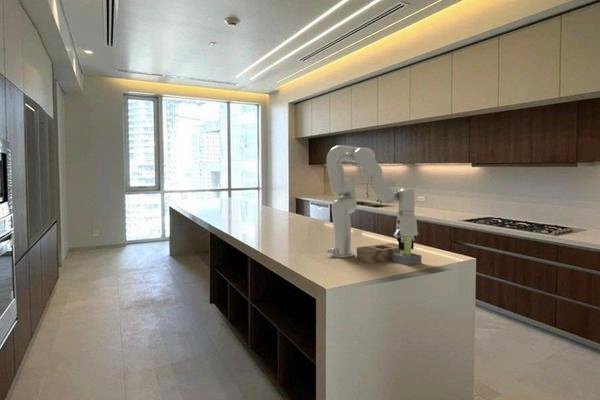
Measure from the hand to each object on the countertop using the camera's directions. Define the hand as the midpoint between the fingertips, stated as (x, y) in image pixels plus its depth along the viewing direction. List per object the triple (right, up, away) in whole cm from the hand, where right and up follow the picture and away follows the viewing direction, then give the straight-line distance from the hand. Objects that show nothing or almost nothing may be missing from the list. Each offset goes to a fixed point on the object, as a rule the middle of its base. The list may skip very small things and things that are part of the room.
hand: (405, 248), depth 188 cm
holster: (0, -7, 0) cm, 7 cm away
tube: (0, -7, +1) cm, 7 cm away
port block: (-10, -6, +10) cm, 15 cm away
